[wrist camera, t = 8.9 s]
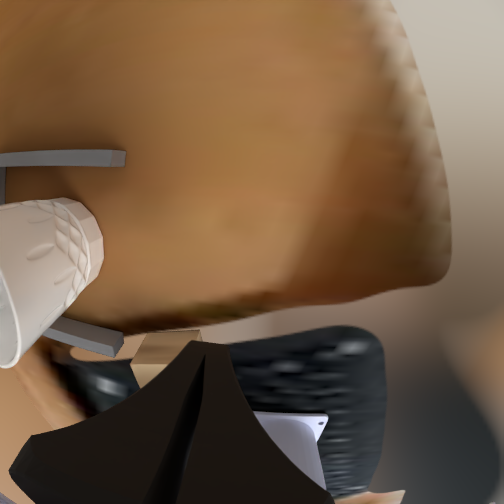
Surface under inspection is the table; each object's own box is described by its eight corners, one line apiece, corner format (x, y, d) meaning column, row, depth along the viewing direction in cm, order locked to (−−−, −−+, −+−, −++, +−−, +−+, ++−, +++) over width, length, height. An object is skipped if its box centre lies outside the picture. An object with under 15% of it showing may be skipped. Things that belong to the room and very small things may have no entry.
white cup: (29, 190, 17) (-71, 214, 7) (111, 188, 17) (-1, 213, 7) (38, 287, 19) (-41, 346, 9) (116, 300, 19) (40, 387, 9)
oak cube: (210, 372, 21) (204, 408, 17) (162, 373, 21) (149, 407, 17) (199, 329, 20) (189, 363, 16) (148, 332, 20) (129, 364, 16)
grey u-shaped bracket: (123, 343, 20) (114, 357, 18) (10, 308, 19) (-2, 317, 17) (126, 151, 16) (112, 149, 14) (0, 154, 16) (-16, 155, 14)
